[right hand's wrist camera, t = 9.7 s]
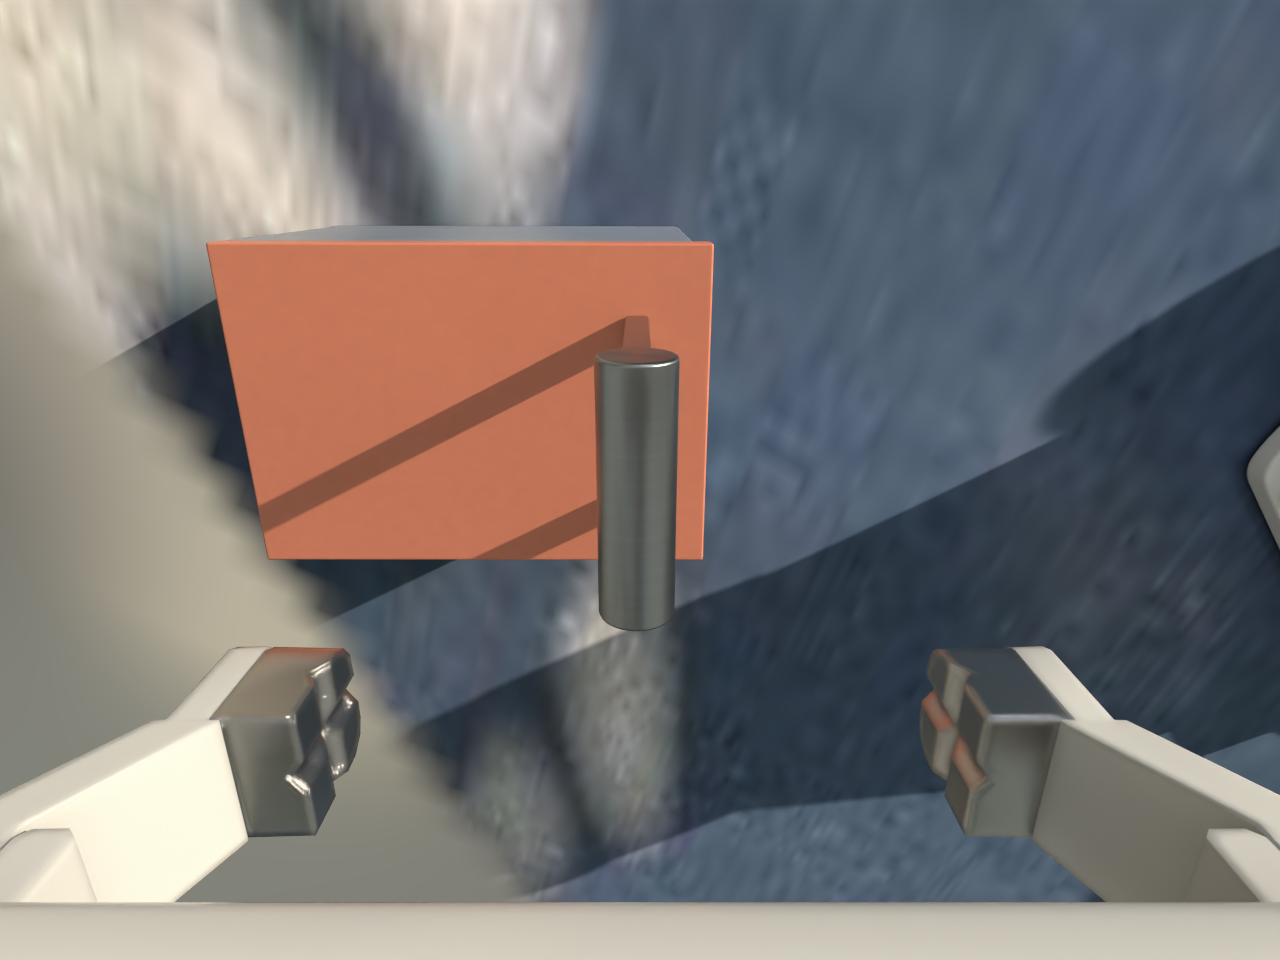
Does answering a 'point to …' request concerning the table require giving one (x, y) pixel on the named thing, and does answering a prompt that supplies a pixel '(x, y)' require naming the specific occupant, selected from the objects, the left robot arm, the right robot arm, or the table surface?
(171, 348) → the table surface
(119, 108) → the table surface
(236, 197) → the table surface
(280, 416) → the lid
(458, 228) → the chest
